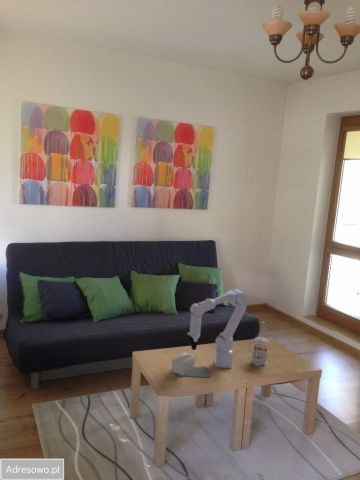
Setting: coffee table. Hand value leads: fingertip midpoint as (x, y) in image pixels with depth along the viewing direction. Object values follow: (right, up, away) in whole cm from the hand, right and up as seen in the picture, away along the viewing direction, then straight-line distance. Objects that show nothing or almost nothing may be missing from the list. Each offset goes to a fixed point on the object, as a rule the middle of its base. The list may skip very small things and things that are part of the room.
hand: (193, 349), depth 232 cm
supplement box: (-2, -6, +1) cm, 7 cm away
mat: (-1, -11, -4) cm, 12 cm away
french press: (+38, -11, +14) cm, 42 cm away
